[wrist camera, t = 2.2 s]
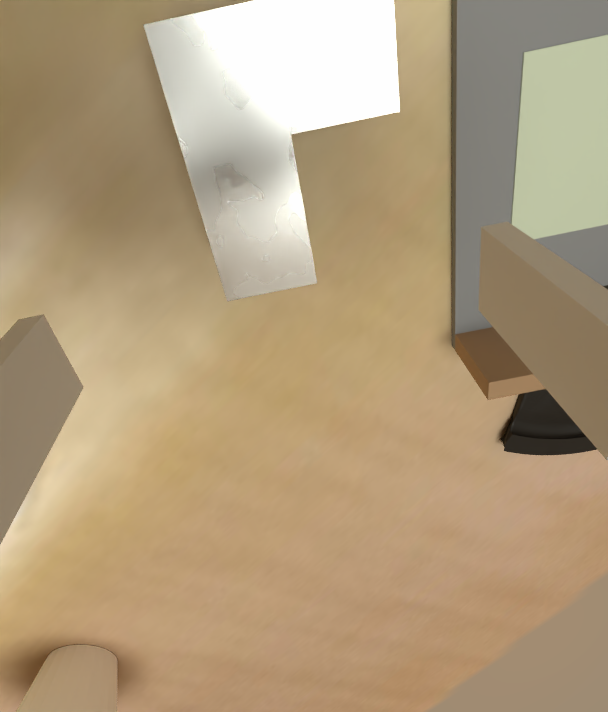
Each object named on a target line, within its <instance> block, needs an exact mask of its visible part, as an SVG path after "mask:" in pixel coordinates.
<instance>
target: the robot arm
mask: <svg viewBox="0 0 608 712" xmlns="http://www.w3.org/2000/svg"><path fill="white" fill-rule="evenodd" d="M479 311H480V312H481V314H482V315H483V316H484V317H485V318H486V319H487V321H488V322H489V323H490V324H491V325H492V326H493V328H494V329H495V330H496V331H497V332H498V333H499V335H500V336H501V337H502V338H503V339H504V340H505V342H506V343H507V344H508V345H509V346H510V348H511V349H512V350H513V351H514V352H515V353H516V355H517V356H518V357H519V358H520V359H521V360H522V362H523V363H524V364H525V365H526V366H527V367H528V369H529V370H530V371H531V372H532V373H533V374H534V376H535V377H536V378H537V379H538V380H539V381H540V383H541V384H542V385H543V386H544V387H545V388H546V390H547V391H548V392H549V393H550V394H551V396H552V397H553V398H554V399H555V400H556V401H557V403H558V404H559V405H560V406H561V407H562V408H563V410H564V411H565V412H566V413H567V414H568V415H569V417H570V418H571V419H572V420H573V421H574V422H575V424H576V425H577V426H578V427H579V428H580V429H581V431H582V432H583V433H584V434H585V435H586V437H587V438H588V439H589V440H590V441H591V442H592V444H593V445H594V446H595V447H596V448H597V449H598V451H599V452H600V453H601V454H602V455H603V456H604V458H605V459H606V460H608V285H606V286H602V285H600V284H599V283H597V282H596V281H594V280H593V279H591V278H590V277H589V276H587V275H586V274H584V273H583V272H581V271H580V270H578V269H577V268H575V267H574V266H572V265H571V264H569V263H568V262H566V261H565V260H563V259H562V258H560V257H559V256H558V255H556V254H555V253H553V252H552V251H550V250H549V249H547V248H546V247H544V246H543V245H541V244H540V243H538V242H537V241H535V240H534V239H532V238H531V237H529V236H528V235H527V234H525V233H524V232H522V231H521V230H519V229H518V228H516V227H515V226H513V225H512V224H510V223H509V222H503V223H498V224H493V225H488V226H483V227H481V247H480V279H479ZM82 389H83V385H82V383H81V382H80V380H79V378H78V376H77V374H76V373H75V371H74V369H73V367H72V365H71V364H70V362H69V360H68V358H67V356H66V354H65V353H64V351H63V349H62V347H61V345H60V344H59V342H58V340H57V338H56V336H55V335H54V333H53V331H52V329H51V327H50V325H49V324H48V322H47V320H46V318H45V316H44V315H39V316H34V317H29V318H24V319H19V320H18V321H17V322H16V323H15V324H14V325H13V326H12V327H11V329H10V330H9V331H8V332H7V333H6V334H5V335H4V336H3V337H2V338H1V340H0V544H1V542H2V540H3V538H4V536H5V535H6V533H7V531H8V529H9V527H10V525H11V523H12V521H13V519H14V518H15V516H16V514H17V512H18V510H19V508H20V506H21V504H22V502H23V501H24V499H25V497H26V495H27V493H28V491H29V489H30V487H31V485H32V484H33V482H34V480H35V478H36V476H37V474H38V472H39V470H40V468H41V467H42V465H43V463H44V461H45V459H46V457H47V455H48V453H49V451H50V450H51V448H52V446H53V444H54V442H55V440H56V438H57V436H58V434H59V433H60V431H61V429H62V427H63V425H64V423H65V421H66V419H67V417H68V416H69V414H70V412H71V410H72V408H73V406H74V404H75V402H76V400H77V398H78V397H79V395H80V393H81V391H82Z"/></svg>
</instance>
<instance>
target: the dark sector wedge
mask: <svg viewBox="0 0 608 712" xmlns="http://www.w3.org/2000/svg"><path fill="white" fill-rule="evenodd" d="M501 441H502V442H503V445H504V447H505V448H504V451H507V452H513V453H520V454H530V455H562V454H573V453H580V452H586V451H592V450H596V449H597V448H596V447H595V446H594V445H593V444H592V442H591V441H590V440H589V439H588V438H587V437H586V435H585V434H584V433H583V432H582V431H581V429H580V428H579V427H578V426H577V425H576V424H575V422H574V421H573V420H572V419H571V418H570V417H569V415H568V414H567V413H566V412H565V411H564V410H563V408H562V407H561V406H560V405H559V404H558V403H557V401H556V400H555V399H554V398H553V397H552V396H551V394H550V393H549V392H548V391H547V390H546V389H542V390H537V391H532V392H527V393H522V394H519V396H518V399H517V402H516V405H515V408H514V412H513V416H512V420H511V422H510V424H509V427H508V429H507V431H506V433H505V434H504V436H503V437H502V438H501Z"/></svg>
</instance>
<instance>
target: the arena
mask: <svg viewBox="0 0 608 712" xmlns="http://www.w3.org/2000/svg"><path fill="white" fill-rule="evenodd" d="M503 222H509V223H510V224H512V225H513V226H515V227H516V228H518V229H519V230H521V231H522V232H524V233H525V234H527V235H528V236H529V237H531V238H532V239H534V240H535V241H537V242H538V243H540V244H541V245H543V246H544V247H546V248H547V249H549V250H550V251H552V252H553V253H555V254H556V255H558V256H559V257H560V258H562V259H563V260H565V261H566V262H568V263H569V264H571V265H572V266H574V267H575V268H577V269H578V270H580V271H581V272H583V273H584V274H586V275H587V276H589V277H590V278H591V279H593V280H594V281H596V282H597V283H599V284H600V285H602V286H606V285H608V0H452V346H453V348H454V349H455V351H456V352H457V354H458V355H459V357H460V358H461V360H462V361H463V363H464V364H465V366H466V367H467V369H468V370H469V372H470V373H471V375H472V377H473V378H474V380H475V381H476V383H477V384H478V386H479V387H480V389H481V390H482V392H483V393H484V395H485V396H486V398H487V399H488V400H491V399H496V398H501V397H506V396H511V395H517V394H522V393H527V392H532V391H537V390H542V389H546V388H545V387H544V386H543V385H542V384H541V383H540V381H539V380H538V379H537V378H536V377H535V376H534V374H533V373H532V372H531V371H530V370H529V369H528V367H527V366H526V365H525V364H524V363H523V362H522V360H521V359H520V358H519V357H518V356H517V355H516V353H515V352H514V351H513V350H512V349H511V348H510V346H509V345H508V344H507V343H506V342H505V340H504V339H503V338H502V337H501V336H500V335H499V333H498V332H497V331H496V330H495V329H494V328H493V326H492V325H491V324H490V323H489V322H488V321H487V319H486V318H485V317H484V316H483V315H482V314H481V312H480V311H479V279H480V247H481V227H483V226H488V225H493V224H498V223H503Z"/></svg>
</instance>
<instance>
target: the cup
mask: <svg viewBox="0 0 608 712" xmlns="http://www.w3.org/2000/svg"><path fill="white" fill-rule="evenodd" d="M117 661H118V660H117V658H116V656H115V655H114V654H113V653H112V652H110V651H108V650H106V649H104V648H101V647H97V646H92V645H69V646H64V647H60V648H58V649H56V650H54V651H52V652H51V653H50V654H49V655H48V657H47V658H46V660H45V662H44V664H43V665H42V667H41V669H40V671H39V672H38V674H37V676H36V678H35V679H34V681H33V683H32V685H31V686H30V688H29V690H28V691H27V693H26V695H25V697H24V698H23V700H22V702H21V704H20V705H19V707H18V709H17V711H16V712H117Z"/></svg>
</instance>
